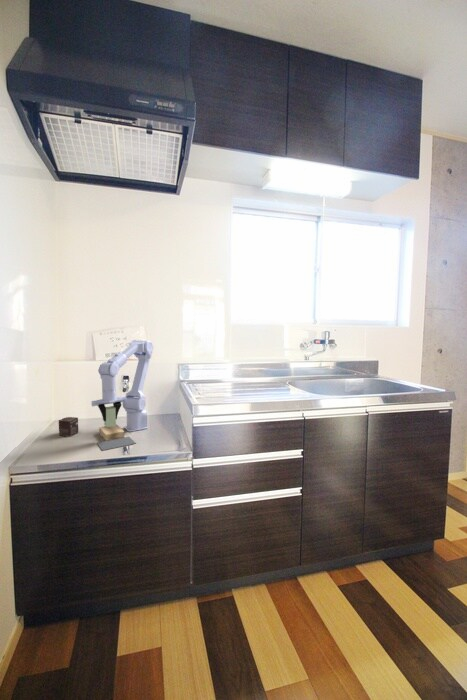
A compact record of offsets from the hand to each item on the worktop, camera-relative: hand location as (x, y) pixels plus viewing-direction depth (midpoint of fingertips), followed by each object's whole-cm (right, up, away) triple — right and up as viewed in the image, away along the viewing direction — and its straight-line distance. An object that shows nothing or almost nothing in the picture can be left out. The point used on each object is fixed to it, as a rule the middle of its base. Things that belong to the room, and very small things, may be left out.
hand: (109, 419), depth 148 cm
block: (0, -3, 0) cm, 3 cm away
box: (-22, -9, +8) cm, 25 cm away
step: (-2, -9, +7) cm, 11 cm away
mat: (+4, -10, -3) cm, 11 cm away
